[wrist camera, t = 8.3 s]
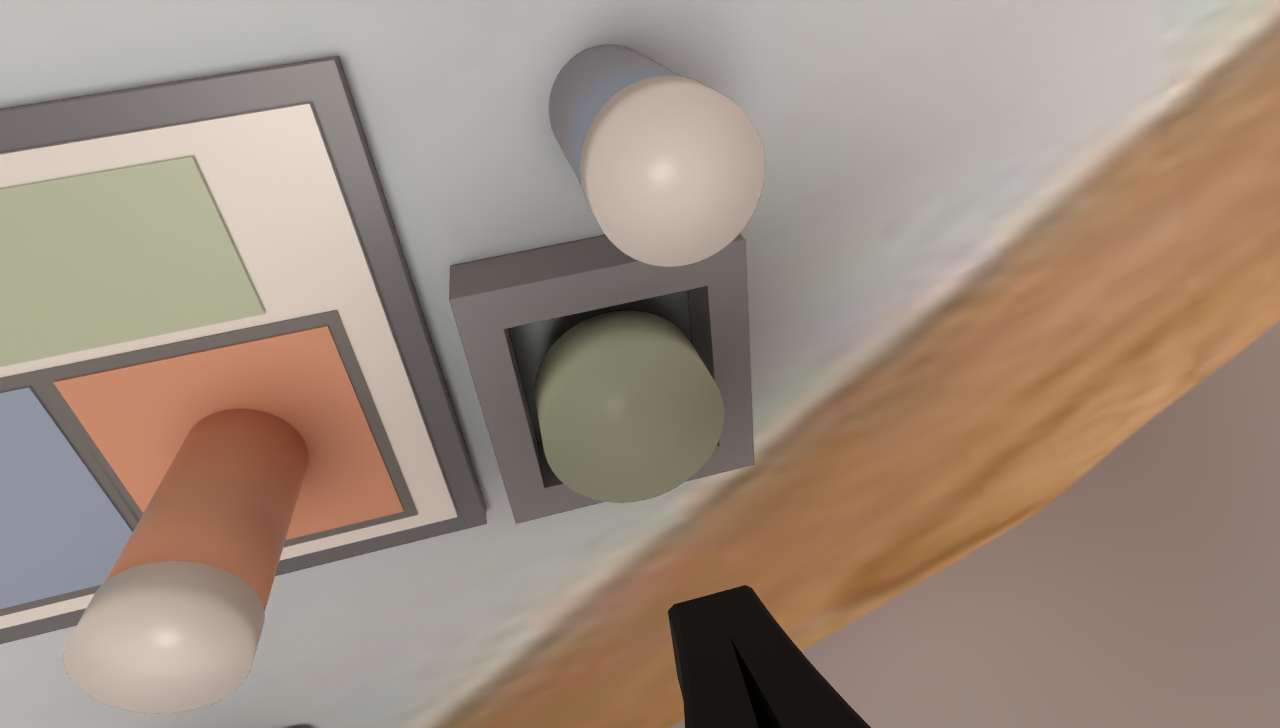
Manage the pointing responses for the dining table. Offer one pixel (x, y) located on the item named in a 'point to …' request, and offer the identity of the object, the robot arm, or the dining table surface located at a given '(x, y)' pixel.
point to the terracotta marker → (194, 571)
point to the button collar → (579, 284)
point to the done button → (626, 407)
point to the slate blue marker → (656, 155)
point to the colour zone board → (206, 325)
